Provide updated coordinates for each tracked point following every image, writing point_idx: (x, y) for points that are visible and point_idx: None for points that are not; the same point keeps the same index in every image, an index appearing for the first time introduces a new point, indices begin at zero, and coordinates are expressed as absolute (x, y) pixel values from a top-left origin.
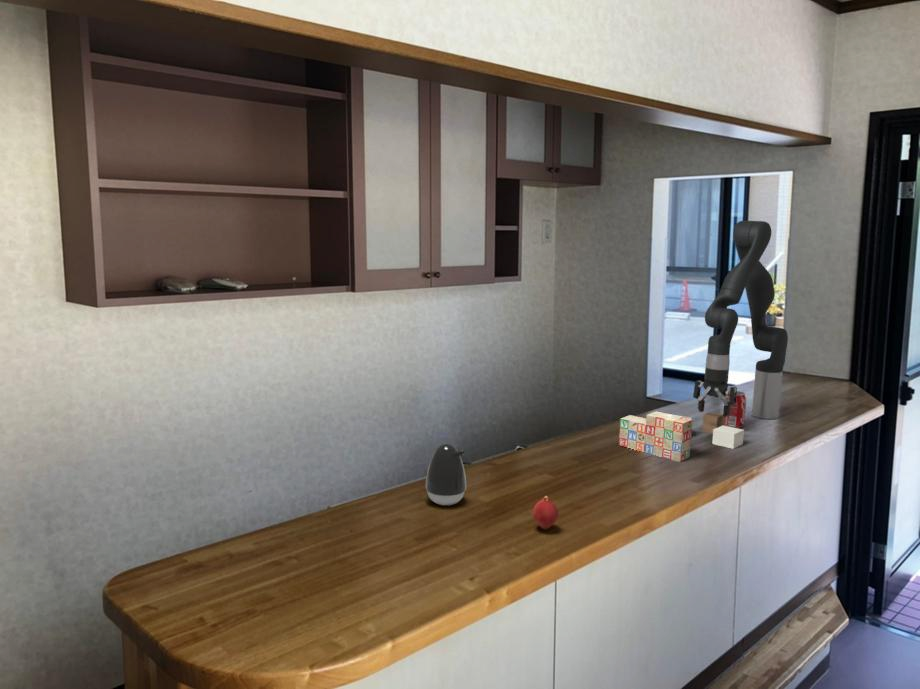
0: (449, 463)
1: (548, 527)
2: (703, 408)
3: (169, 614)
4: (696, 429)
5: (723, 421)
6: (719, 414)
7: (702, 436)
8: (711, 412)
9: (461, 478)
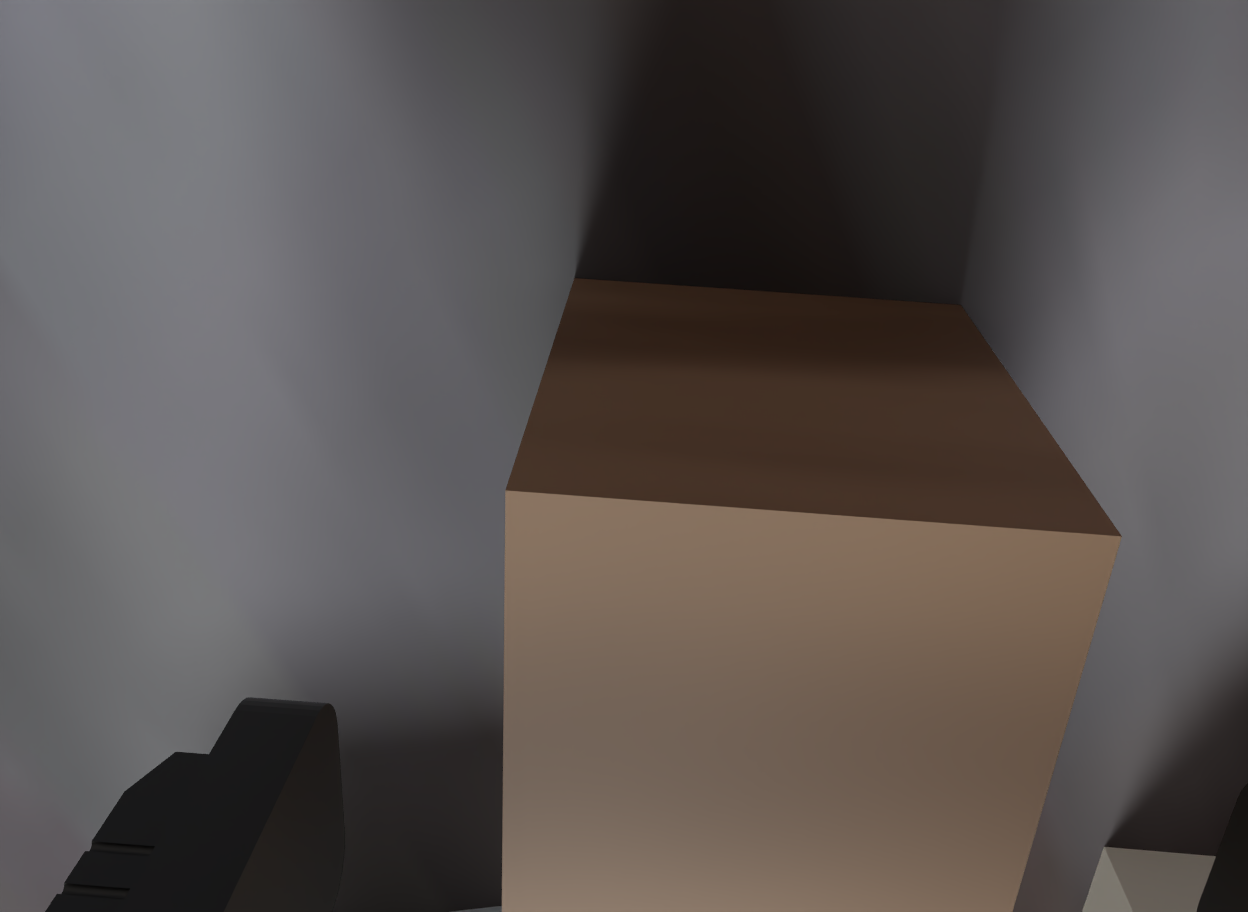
0: None
1: None
2: (300, 807)
3: None
4: (393, 533)
5: (1040, 423)
6: (946, 600)
7: None
8: (577, 519)
9: None
